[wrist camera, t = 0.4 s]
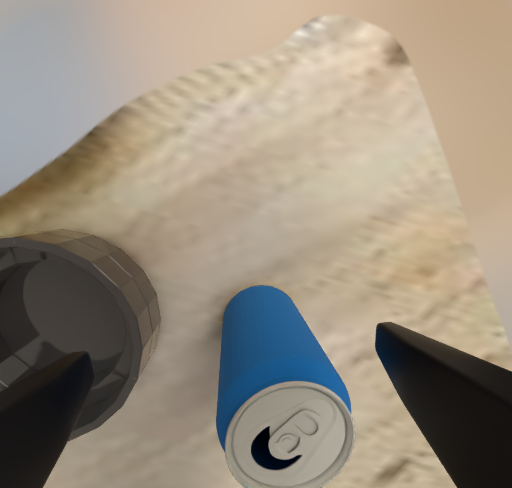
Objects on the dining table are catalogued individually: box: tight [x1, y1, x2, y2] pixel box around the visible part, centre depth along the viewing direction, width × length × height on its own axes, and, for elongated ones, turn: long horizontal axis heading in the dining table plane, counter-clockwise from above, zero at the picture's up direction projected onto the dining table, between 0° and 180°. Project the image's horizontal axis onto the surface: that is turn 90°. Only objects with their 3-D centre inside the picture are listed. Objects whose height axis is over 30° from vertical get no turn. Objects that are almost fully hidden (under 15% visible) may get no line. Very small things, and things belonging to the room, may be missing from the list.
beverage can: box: [216, 285, 355, 488], centre depth 17 cm, size 6×6×12 cm
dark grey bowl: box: [0, 229, 160, 441], centre depth 18 cm, size 14×14×5 cm
